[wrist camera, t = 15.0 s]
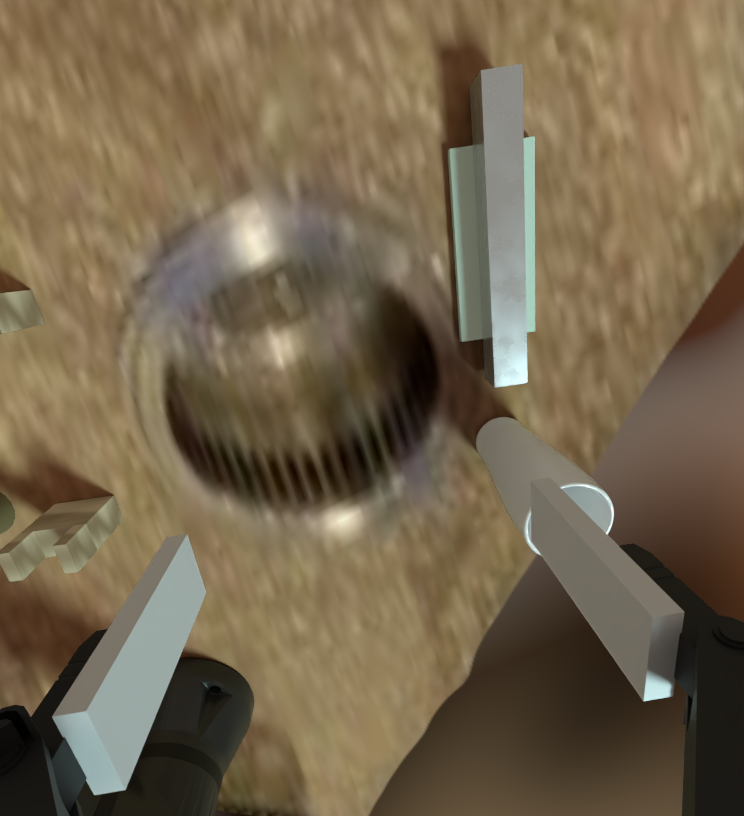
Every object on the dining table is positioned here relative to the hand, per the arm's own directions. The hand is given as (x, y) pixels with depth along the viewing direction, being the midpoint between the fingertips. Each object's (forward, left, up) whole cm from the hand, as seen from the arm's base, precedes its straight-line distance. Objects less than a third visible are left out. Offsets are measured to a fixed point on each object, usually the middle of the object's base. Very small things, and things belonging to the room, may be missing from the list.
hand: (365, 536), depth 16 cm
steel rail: (+9, -14, -26) cm, 30 cm away
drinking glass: (-10, -14, -27) cm, 32 cm away
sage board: (+9, -14, -26) cm, 31 cm away
